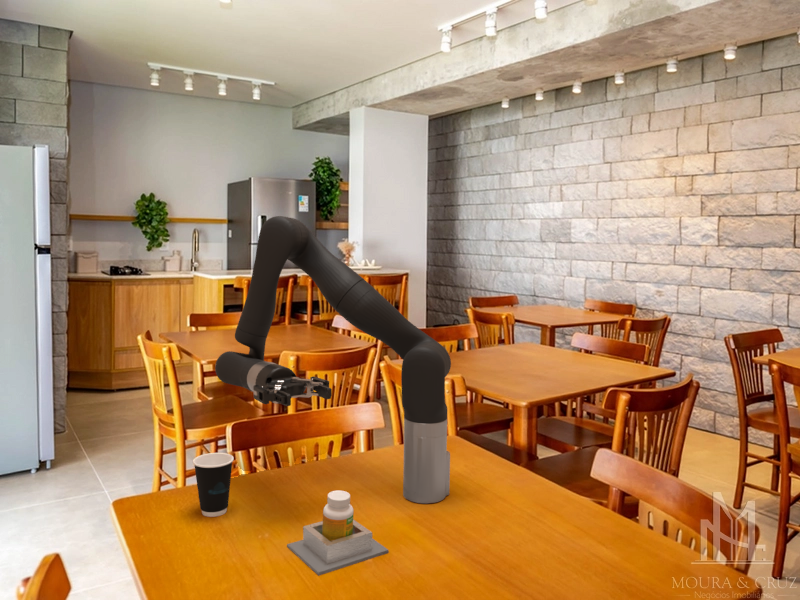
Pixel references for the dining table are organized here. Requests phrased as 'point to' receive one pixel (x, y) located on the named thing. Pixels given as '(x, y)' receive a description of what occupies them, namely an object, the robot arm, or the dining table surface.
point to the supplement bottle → (337, 516)
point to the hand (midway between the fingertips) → (309, 397)
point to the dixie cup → (213, 482)
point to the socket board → (335, 548)
